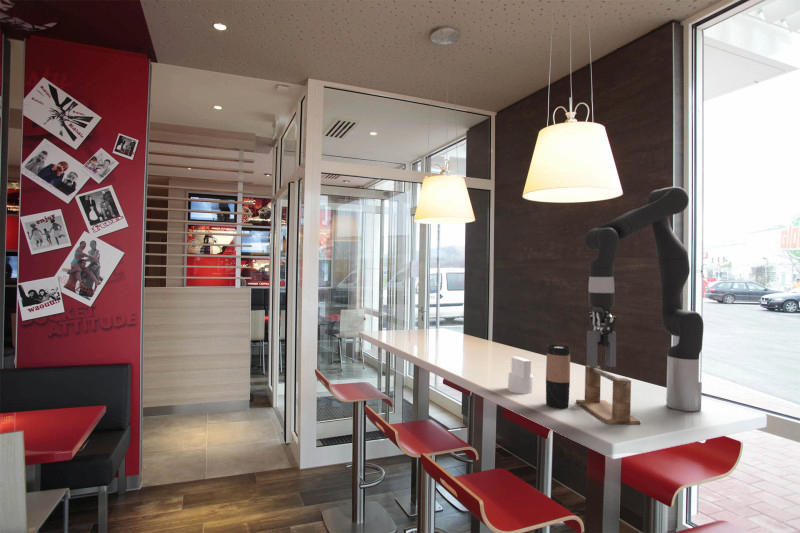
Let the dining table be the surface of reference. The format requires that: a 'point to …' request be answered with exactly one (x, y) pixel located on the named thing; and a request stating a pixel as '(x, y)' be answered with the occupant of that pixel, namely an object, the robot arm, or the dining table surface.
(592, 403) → the rail
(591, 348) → the grey arch block
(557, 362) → the travel mug
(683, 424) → the dining table surface
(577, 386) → the dining table surface
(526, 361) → the cylinder with rectangular tab
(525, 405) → the dining table surface
